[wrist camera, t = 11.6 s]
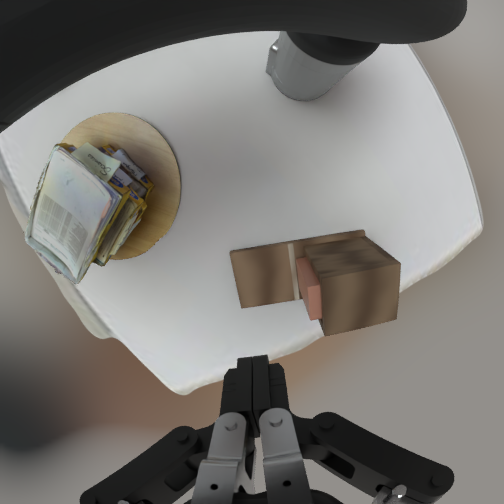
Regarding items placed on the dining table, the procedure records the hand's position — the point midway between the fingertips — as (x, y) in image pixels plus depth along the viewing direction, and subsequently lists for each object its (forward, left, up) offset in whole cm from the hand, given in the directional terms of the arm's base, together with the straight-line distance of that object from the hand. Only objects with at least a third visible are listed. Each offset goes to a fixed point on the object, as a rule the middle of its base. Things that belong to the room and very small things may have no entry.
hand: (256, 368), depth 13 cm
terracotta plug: (+12, 0, -29) cm, 32 cm away
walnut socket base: (+10, -2, -31) cm, 33 cm away
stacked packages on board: (-23, -8, -31) cm, 40 cm away
